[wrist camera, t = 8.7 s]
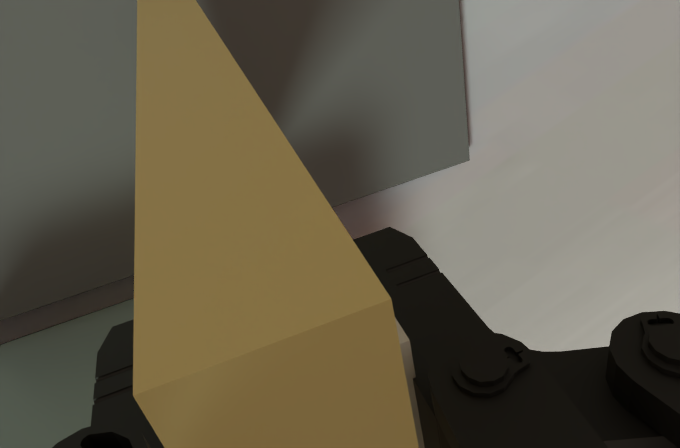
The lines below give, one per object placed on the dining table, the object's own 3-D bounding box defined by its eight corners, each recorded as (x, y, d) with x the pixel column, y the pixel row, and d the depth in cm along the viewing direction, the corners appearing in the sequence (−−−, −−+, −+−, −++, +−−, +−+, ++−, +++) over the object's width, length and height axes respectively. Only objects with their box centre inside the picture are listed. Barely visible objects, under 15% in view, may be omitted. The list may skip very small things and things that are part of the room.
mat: (-18, 318, 22) (-21, 328, 22) (-271, -19, 15) (-285, -17, 15) (463, 155, 26) (469, 160, 25) (438, -178, 19) (446, -180, 18)
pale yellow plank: (221, 219, 20) (377, 797, 7) (137, -7, 16) (132, 394, 3) (257, 207, 20) (474, 745, 7) (184, -18, 16) (390, 298, 3)
